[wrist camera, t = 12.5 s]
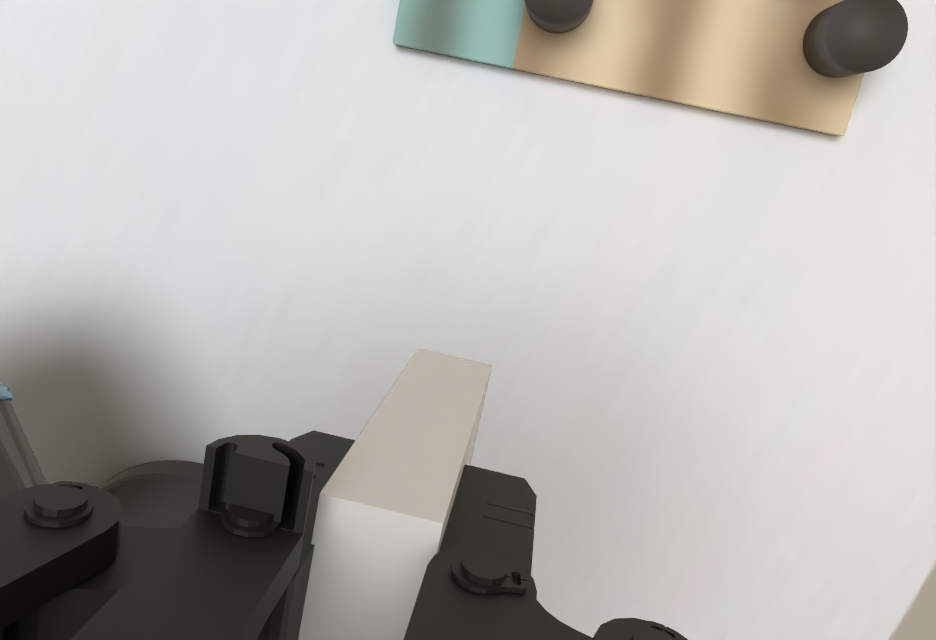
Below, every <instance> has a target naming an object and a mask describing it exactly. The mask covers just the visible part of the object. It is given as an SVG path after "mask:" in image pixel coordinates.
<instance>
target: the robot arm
mask: <svg viewBox="0 0 936 640" xmlns="http://www.w3.org/2000/svg"><path fill="white" fill-rule="evenodd" d="M491 367H492V365H487V364H483V363H479V362H474V361H470V360H466V359H461V358H457V357H453V356H448V355H444V354H440V353H435V352H431V351H427V350H422V349H417V351H416V352H415V354H414V355H413V357H412V358H411V360H410V361H409V363H408V364H407V366H406V367H405V369H404V370H403V371H402V373H401V374H400V376H399V377H398V379H397V380H396V382H395V383H394V385H393V386H392V388H391V389H390V391H389V392H388V394H387V395H386V397H385V398H384V399H383V401H382V402H381V404H380V405H379V407H378V408H377V410H376V411H375V413H374V414H373V416H372V417H371V419H370V420H369V422H368V423H367V425H366V426H365V428H364V429H363V430H362V432H361V433H360V435H359V436H358V438H357V439H356V441H355V440H351V439H347V438H342V437H338V436H334V435H330V434H326V433H322V432H317V431H311V432H309V433H306V434H304V435H301V436H298V437H296V438H293V439H291V440H290V441H286V440H283V439H280V438H275V437H268V436H262V435H236V436H231V437H227V438H222V439H218V440H216V441H215V442H213V443H211V444H209V445H207V446H206V452H205V460H204V465H203V464H199V463H194V462H186V461H158V462H152V463H146V464H142V465H139V466H136V467H133V468H130V469H128V470H126V471H123V472H121V473H120V474H118V475H116V476H114V477H113V478H111V479H110V480H108V481H107V482H106V483H105V484H103V485H102V486H101V487H99V488H97V487H94V486H90V485H87V484H84V483H77V482H75V483H72V482H57V483H53V484H47V482H46V480H45V478H44V475H43V473H42V471H41V469H40V467H39V464H38V462H37V460H36V458H35V456H34V453H33V451H32V449H31V447H30V444H29V442H28V440H27V438H26V436H25V433H24V431H23V429H22V427H21V425H20V422H19V420H18V418H17V416H16V414H15V411H14V409H13V407H12V405H11V402H10V401H12V400H14V397H13V393H12V391H11V389H9V388H7V387H4V386H3V385H2V383H1V381H0V640H688V639H686V638H685V637H683V636H682V635H681V634H679V633H678V632H676V631H675V630H673V629H671V628H669V627H664V625H662V624H659V623H656V622H652V621H645V620H641V619H637V618H619V619H613V620H611V621H609V622H606V623H604V624H602V625H601V626H600V627H599V629H598V630H597V632H596V634H595V635H594V638H591V637H589V636H587V635H585V634H583V633H581V632H579V631H577V630H574V629H573V628H571V627H569V626H567V625H566V624H564V623H562V622H560V621H559V620H557V619H556V618H555V617H553V616H552V615H551V614H550V613H548V612H547V611H546V610H545V609H544V608H543V607H542V606H541V604H540V603H539V602H538V601H537V600H536V595H537V591H536V587H535V583H534V579H533V578H532V577H531V566H532V552H533V538H534V524H535V511H536V497H537V496H536V494H535V493H534V492H533V490H532V489H531V487H530V486H529V484H528V483H527V481H526V480H525V479H524V478H520V477H515V476H511V475H507V474H503V473H499V472H494V471H490V470H486V469H482V468H478V467H474V466H470V462H471V458H472V453H473V448H474V444H475V439H476V435H477V430H478V426H479V421H480V417H481V412H482V408H483V403H484V399H485V394H486V390H487V385H488V381H489V376H490V372H491Z"/></svg>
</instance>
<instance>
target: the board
mask: <svg viewBox="0 0 936 640" xmlns="http://www.w3.org/2000/svg"><path fill="white" fill-rule="evenodd" d="M907 32H908V22H907V17H906V13H905V11H904V9H903V7H902V6H901V4H900V3H899V2H898V1H897V0H400V2H399V8H398V14H397V20H396V26H395V32H394V38H393V43H394V44H396V45H398V46H403V47H408V48H413V49H418V50H423V51H428V52H433V53H437V54H442V55H447V56H452V57H457V58H462V59H467V60H471V61H476V62H481V63H486V64H491V65H496V66H501V67H505V68H510V69H515V70H520V71H525V72H530V73H535V74H539V75H544V76H549V77H554V78H559V79H564V80H569V81H573V82H578V83H583V84H588V85H593V86H598V87H603V88H607V89H612V90H617V91H622V92H627V93H632V94H637V95H642V96H646V97H651V98H656V99H661V100H666V101H671V102H676V103H680V104H685V105H690V106H695V107H700V108H705V109H710V110H714V111H719V112H724V113H729V114H734V115H739V116H744V117H748V118H753V119H758V120H763V121H768V122H773V123H778V124H782V125H787V126H792V127H797V128H802V129H807V130H812V131H816V132H821V133H826V134H831V135H836V136H844V135H845V132H846V128H847V125H848V122H849V119H850V116H851V113H852V109H853V106H854V103H855V100H856V97H857V93H858V90H859V87H860V84H861V81H862V77H863V74H864V73H865V72H869V71H873V70H877V69H879V68H882V67H883V66H885V65H887V64H888V63H890V62H891V61H892V60H893V59H894V58H895V57H896V56H897V55H898V53H899V52H900V51H901V49H902V47H903V45H904V43H905V40H906V37H907Z"/></svg>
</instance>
